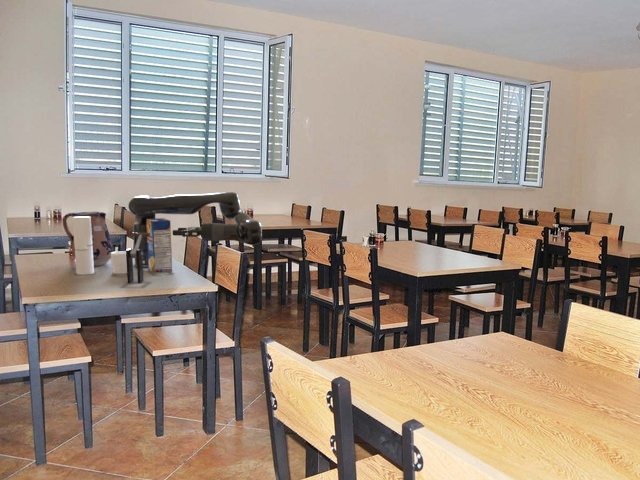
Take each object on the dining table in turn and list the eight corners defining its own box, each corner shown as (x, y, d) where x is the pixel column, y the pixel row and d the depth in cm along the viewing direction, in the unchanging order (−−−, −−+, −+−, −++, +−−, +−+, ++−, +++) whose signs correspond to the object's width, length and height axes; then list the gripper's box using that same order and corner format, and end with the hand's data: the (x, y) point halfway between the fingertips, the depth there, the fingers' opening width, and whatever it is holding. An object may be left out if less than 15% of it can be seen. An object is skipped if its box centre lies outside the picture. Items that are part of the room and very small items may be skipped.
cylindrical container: (97, 272, 289) (94, 216, 285) (83, 275, 283) (79, 218, 279) (87, 271, 293) (83, 215, 289) (72, 273, 287) (68, 217, 282)
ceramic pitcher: (112, 267, 303) (109, 214, 299) (62, 269, 297) (58, 214, 292) (115, 261, 320) (112, 210, 315) (68, 263, 313) (64, 211, 309)
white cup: (134, 273, 289) (133, 251, 287) (125, 277, 281) (124, 254, 280) (117, 273, 290) (116, 251, 288) (108, 276, 282) (106, 253, 280)
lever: (133, 235, 273) (132, 231, 271) (150, 235, 273) (149, 231, 271) (125, 258, 262) (123, 253, 261) (142, 258, 263) (141, 253, 261)
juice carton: (148, 271, 295) (146, 218, 291) (165, 270, 299) (163, 218, 295) (155, 275, 286) (152, 221, 281) (172, 274, 290) (170, 220, 286)
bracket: (129, 282, 269) (127, 247, 267) (149, 282, 270) (147, 247, 268) (121, 287, 260) (119, 251, 257) (142, 287, 260) (140, 251, 258)
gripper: (211, 243, 270) (171, 242, 269) (218, 238, 284) (180, 238, 283) (210, 225, 269) (170, 224, 267) (217, 221, 283) (179, 221, 281)
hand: (175, 231), depth 275 cm, fingers open, 8 cm apart
